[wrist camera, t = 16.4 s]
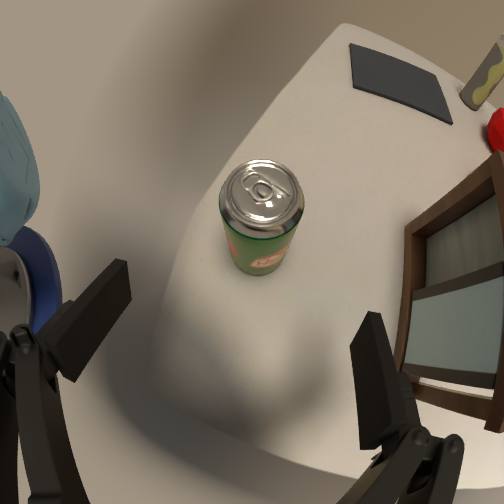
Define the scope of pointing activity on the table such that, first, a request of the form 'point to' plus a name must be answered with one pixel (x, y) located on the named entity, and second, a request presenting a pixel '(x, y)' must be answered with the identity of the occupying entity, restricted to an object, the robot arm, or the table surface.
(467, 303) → the window pane
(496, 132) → the apple
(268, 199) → the soda can
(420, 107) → the mat
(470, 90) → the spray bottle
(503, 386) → the window frame
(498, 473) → the table surface
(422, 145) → the table surface
